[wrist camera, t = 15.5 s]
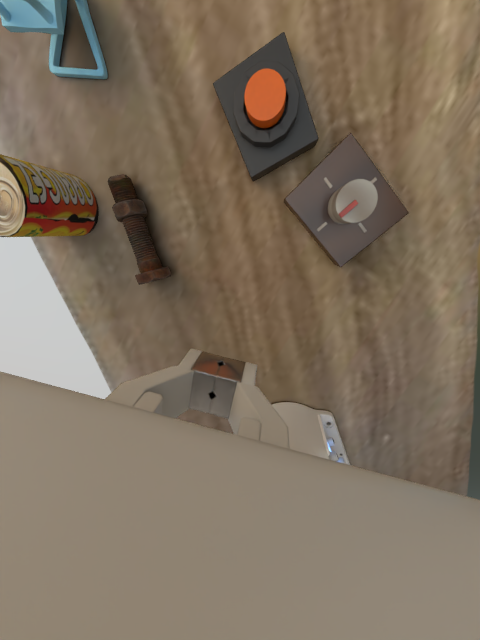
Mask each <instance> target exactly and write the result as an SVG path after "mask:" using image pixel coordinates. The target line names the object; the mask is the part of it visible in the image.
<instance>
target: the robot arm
mask: <svg viewBox="0 0 480 640" xmlns="http://www.w3.org/2000/svg"><path fill="white" fill-rule="evenodd" d="M256 372H257V364H252V363H247V362H246V364H245V362H243V361H239V360H234V359H230V358H225V357H222V356H219V355H215V354H211V353H207V352H204V351H203V352H202V351H200V350H196V349H190V350H189V352H188V353H187V354H186V356H185V357H184V358H183V360H182V361H181V362H180V364H179V365H178V366H172V367H169V368H166V369H163V370H160V371H157V372H154V373H151V374H148V375H145V376H142V377H139V378H136V379H132V380H129V381H126V382H123V383H121V384H120V385H119V386H118V387H117V388H116V389H115V390H114V391H113V392H112V393H111V394H110V395H109V396H108V397H107V398H106V399H100V398H97V397H93V396H90V395H86V394H82V393H78V392H75V391H71V390H67V389H63V388H60V387H56V386H52V385H48V384H45V383H41V382H37V381H34V380H29V379H26V378H22V377H19V376H15V375H11V374H7V373H4V372H0V640H480V500H478V499H474V498H470V497H467V496H463V495H459V494H456V493H452V492H448V491H444V490H441V489H437V488H433V487H429V486H426V485H422V484H418V483H415V482H411V481H407V480H403V479H400V478H396V477H392V476H389V475H385V474H381V473H377V472H374V471H370V470H366V469H362V468H359V467H355V466H351V465H350V462H349V459H348V456H347V453H346V451H345V448H344V445H343V442H342V439H341V436H340V433H339V431H338V428H337V425H336V422H335V419H334V416H333V414H332V413H331V412H329V411H324V410H315V409H312V408H309V407H307V406H305V405H302V404H298V403H293V402H281V403H276V404H272V405H271V404H270V402H269V401H268V400H267V398H266V397H265V396H264V394H263V393H262V392H261V390H260V389H259V388H258V387H256V386H255V380H256ZM188 408H189V409H193V410H197V411H202V412H206V413H210V414H213V415H217V416H220V417H223V418H227V419H229V423H230V425H231V428H232V431H233V433H234V434H232V433H228V432H224V431H220V430H217V429H213V428H209V427H205V426H202V425H198V424H194V423H191V422H187V421H183V420H179V419H176V417H178V416H179V415H181V414H182V413H184V412H185V411H187V410H188ZM327 422H329V423H327Z"/></svg>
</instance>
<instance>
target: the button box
mask: <svg viewBox="0 0 480 640" xmlns="http://www.w3.org/2000/svg"><path fill="white" fill-rule="evenodd" d="M267 68H268V69H273V70H275V71H276V72H278V73H279V74H280V75H281V77H282V78H283V80H284V83H285V87H286V100H285V109H284V112H283V114H282V116H281V118H280V120H279V121H278V122H277V123H276V124H275V125H273V126H271V127H269V128H259V127H257V126H255V125H254V124H253V123H252V122H251V121H250V119H249V117H248V114H247V110H246V106H245V100H244V95H245V89H246V86H247V83H248V81H249V80H250V78H251V77H252V76H253V75H254V74H255V73H256V72H257V71H259V70H261V69H267ZM213 85H214V88H215V90H216V93H217V95H218V98H219V100H220V102H221V105H222V107H223V110H224V112H225V115H226V117H227V120H228V122H229V125H230V127H231V129H232V132H233V134H234V137H235V139H236V142H237V144H238V147H239V149H240V152H241V154H242V157H243V159H244V161H245V164H246V166H247V169H248V171H249V174H250V176H251V179H252V181H255V180H257V179H258V178H260V177H262V176H264V175H265V174H267V173H269V172H271V171H272V170H274V169H276V168H278V167H279V166H281V165H283V164H285V163H286V162H288V161H290V160H292V159H293V158H295V157H297V156H299V155H300V154H302V153H304V152H306V151H307V150H309V149H311V148H313V147H314V146H315V145H316V143H317V141H318V136H317V133H316V129H315V126H314V123H313V120H312V117H311V114H310V111H309V108H308V105H307V101H306V98H305V95H304V92H303V89H302V86H301V83H300V80H299V77H298V74H297V70H296V67H295V64H294V61H293V58H292V55H291V52H290V49H289V46H288V42H287V39H286V36H285V33H284V32H283V33H281V34H280V35H279V36H277V37H276V38H274V39H273V40H272V41H270V42H269V43H268V44H266V45H265V46H263V47H262V48H261V49H259V50H258V51H257V52H255V53H254V54H252V55H251V56H250V57H248V58H247V59H246V60H244V61H243V62H241V63H240V64H239V65H237V66H236V67H235V68H233V69H232V70H230V71H229V72H228V73H226V74H225V75H224V76H222V77H221V78H219V79H218V80H217V81H215V82H214V83H213Z"/></svg>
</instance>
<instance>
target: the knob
mask: <svg viewBox="0 0 480 640" xmlns="http://www.w3.org/2000/svg"><path fill="white" fill-rule="evenodd" d="M377 200H378V194H377V190H376V188H375V186H374V185H373V184H372V183H371V182H370V181H368V180H365V179H355V180H352V181H350V182H348V183H347V184H345V185H344V186H342V187H341V188H339V189H338V190H337V191H335V192H334V193H333V195H332V196H331V198H330V200H329V202H328V214H329V216H330V218H331V219H332V220H333V221H334V222H336V223H338V224H350V223H357V222H361V221H363V220H365V219H366V218H368V217H369V216H370V215H371V214H372V212H373V211H374V209H375V207H376V205H377Z"/></svg>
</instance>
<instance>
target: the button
mask: <svg viewBox="0 0 480 640" xmlns="http://www.w3.org/2000/svg"><path fill="white" fill-rule="evenodd" d="M244 100H245V106H246V110H247V114H248V117H249V119H250V121H251V122H252V123H253V124H254V125H255V126H257V127H259V128H269V127H271V126H273V125H275V124H276V123H277V122H278V121H279V120H280V118H281V116H282V114H283V112H284V109H285V100H286V87H285V83H284V80H283V78H282V77H281V75H280V74H279V73H278V72H276V71H275V70H273V69H268V68H267V69H261V70H259V71H257V72H256V73H255V74H254V75H253V76H252V77H251V78H250V80H249V81H248V83H247V86H246V89H245V95H244Z"/></svg>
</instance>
